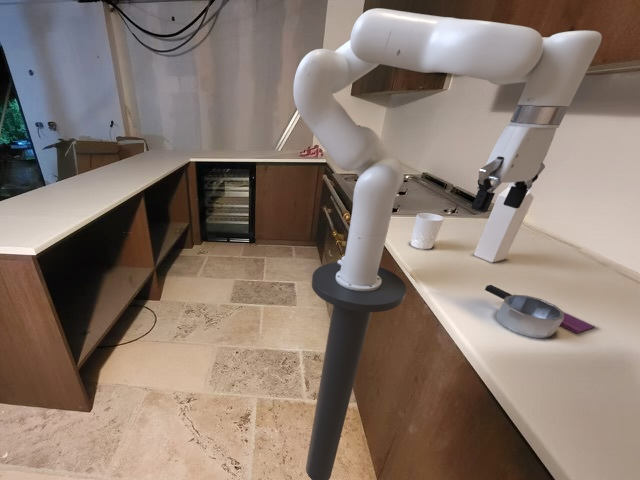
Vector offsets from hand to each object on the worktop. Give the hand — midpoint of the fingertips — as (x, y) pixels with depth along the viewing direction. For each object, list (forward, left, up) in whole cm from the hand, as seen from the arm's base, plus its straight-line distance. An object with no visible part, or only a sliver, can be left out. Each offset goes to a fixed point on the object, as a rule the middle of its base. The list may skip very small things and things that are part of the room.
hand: (494, 208), depth 69 cm
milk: (-14, +29, -23) cm, 40 cm away
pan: (+11, +3, -22) cm, 25 cm away
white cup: (-29, +17, -23) cm, 41 cm away
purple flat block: (+14, +13, -22) cm, 29 cm away
